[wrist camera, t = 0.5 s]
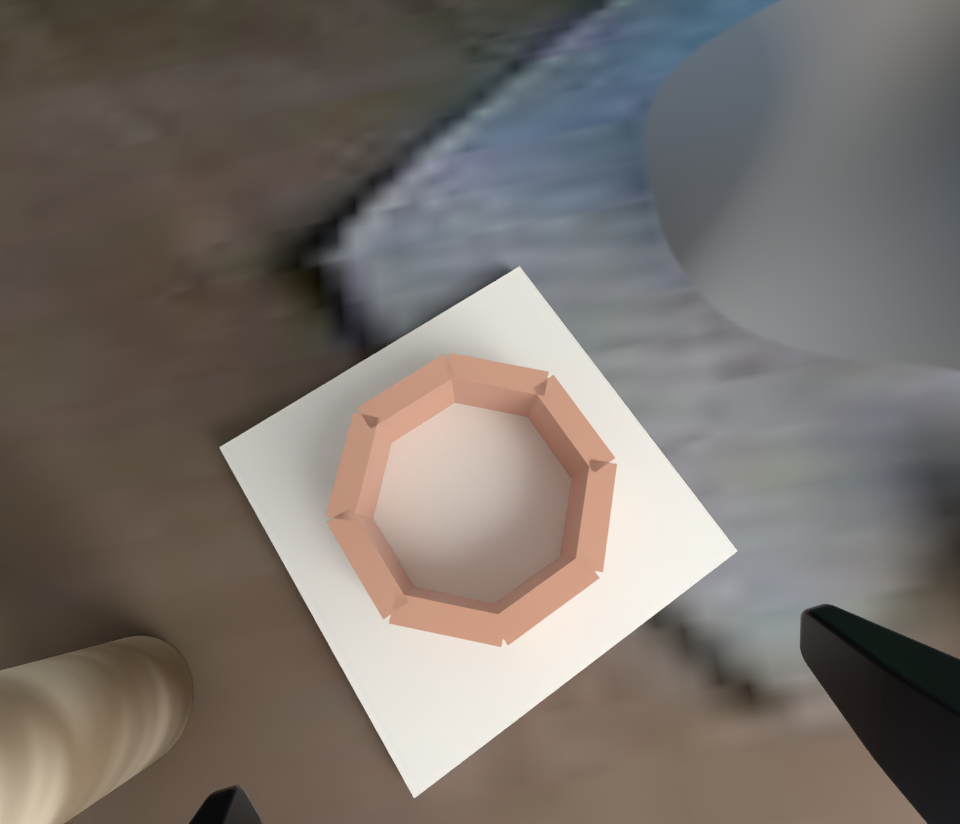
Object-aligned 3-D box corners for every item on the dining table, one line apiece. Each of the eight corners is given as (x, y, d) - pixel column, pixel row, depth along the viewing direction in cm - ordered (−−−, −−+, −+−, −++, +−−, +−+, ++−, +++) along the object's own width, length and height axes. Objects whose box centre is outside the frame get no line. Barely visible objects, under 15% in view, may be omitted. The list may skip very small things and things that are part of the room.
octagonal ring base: (726, 550, 23) (786, 552, 18) (417, 786, 20) (401, 851, 16) (517, 276, 26) (526, 222, 22) (229, 451, 24) (174, 430, 19)
